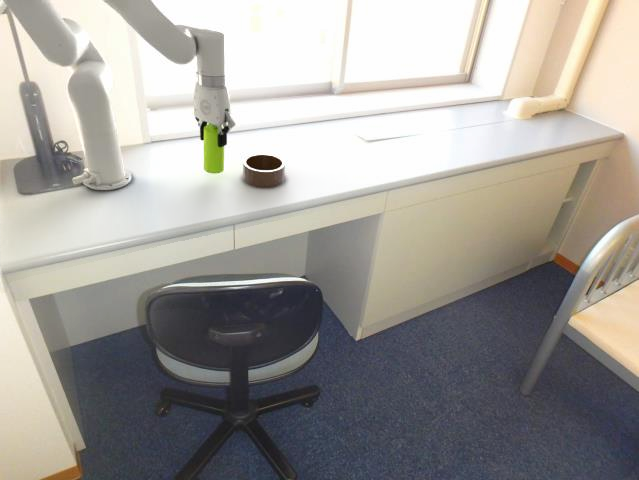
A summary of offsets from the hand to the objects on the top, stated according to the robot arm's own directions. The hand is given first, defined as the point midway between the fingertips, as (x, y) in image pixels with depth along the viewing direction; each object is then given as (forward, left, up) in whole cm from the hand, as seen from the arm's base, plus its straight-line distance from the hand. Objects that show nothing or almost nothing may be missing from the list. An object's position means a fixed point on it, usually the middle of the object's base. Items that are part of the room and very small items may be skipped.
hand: (213, 141), depth 130 cm
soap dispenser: (0, 0, -9) cm, 9 cm away
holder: (+9, -11, -12) cm, 19 cm away
